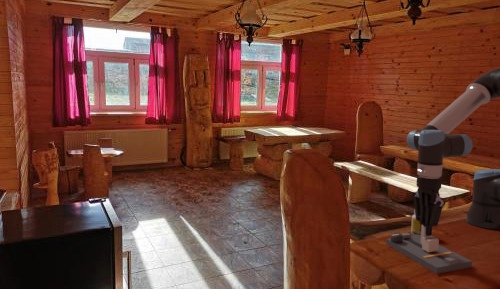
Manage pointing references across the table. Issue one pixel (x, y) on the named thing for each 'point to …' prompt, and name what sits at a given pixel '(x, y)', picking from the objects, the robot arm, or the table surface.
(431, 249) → the fader knob
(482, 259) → the table surface
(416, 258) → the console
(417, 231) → the supplement bottle
